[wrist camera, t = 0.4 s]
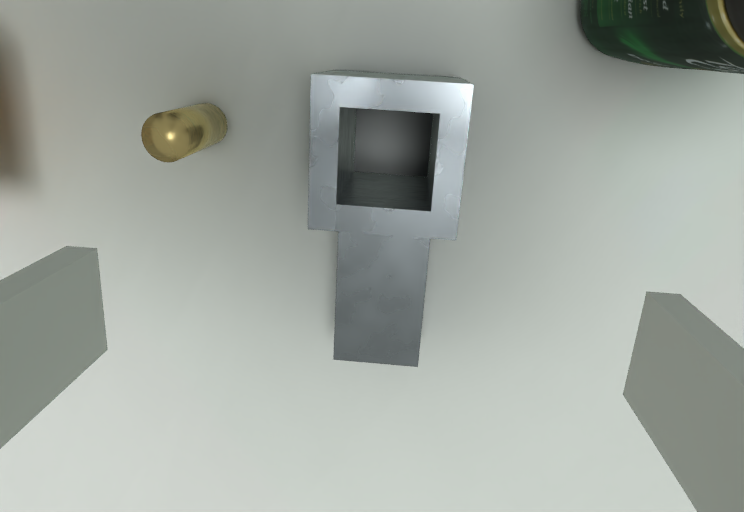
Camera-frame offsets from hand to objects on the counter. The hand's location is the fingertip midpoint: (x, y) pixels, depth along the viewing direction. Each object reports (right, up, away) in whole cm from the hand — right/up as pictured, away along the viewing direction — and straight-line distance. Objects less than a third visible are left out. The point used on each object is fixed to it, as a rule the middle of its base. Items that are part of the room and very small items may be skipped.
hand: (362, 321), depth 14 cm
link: (+1, +4, +21) cm, 21 cm away
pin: (-10, +9, +20) cm, 24 cm away
